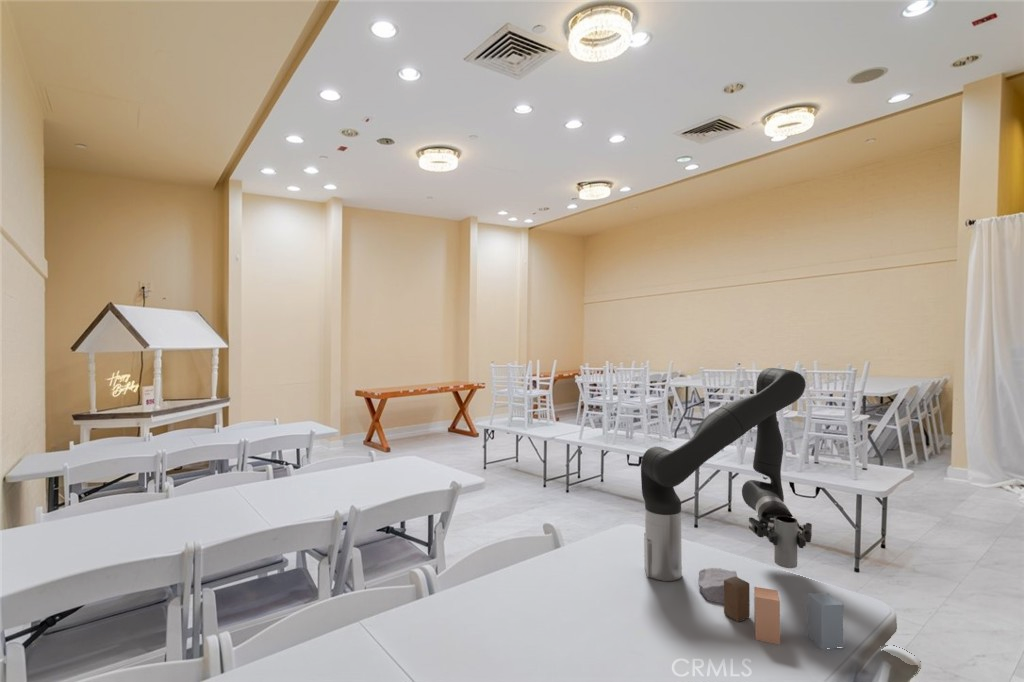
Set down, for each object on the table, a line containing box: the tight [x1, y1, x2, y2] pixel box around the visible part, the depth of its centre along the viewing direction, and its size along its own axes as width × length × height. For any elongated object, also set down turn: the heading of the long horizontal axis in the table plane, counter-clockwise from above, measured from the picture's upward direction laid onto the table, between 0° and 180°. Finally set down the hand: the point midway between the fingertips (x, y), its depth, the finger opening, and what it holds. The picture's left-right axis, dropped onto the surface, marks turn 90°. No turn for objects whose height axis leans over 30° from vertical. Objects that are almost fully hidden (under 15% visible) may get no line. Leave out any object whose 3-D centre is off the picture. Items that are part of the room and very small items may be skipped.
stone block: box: [697, 567, 738, 603], centre depth 125 cm, size 12×5×10 cm
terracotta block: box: [753, 586, 781, 645], centre depth 106 cm, size 4×4×9 cm
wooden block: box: [723, 576, 751, 623], centre depth 114 cm, size 4×4×8 cm
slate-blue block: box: [806, 592, 844, 650], centre depth 104 cm, size 4×4×9 cm
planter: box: [773, 515, 798, 569], centre depth 113 cm, size 4×4×10 cm
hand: (788, 542), depth 111 cm, fingers closed on planter, 4 cm apart
